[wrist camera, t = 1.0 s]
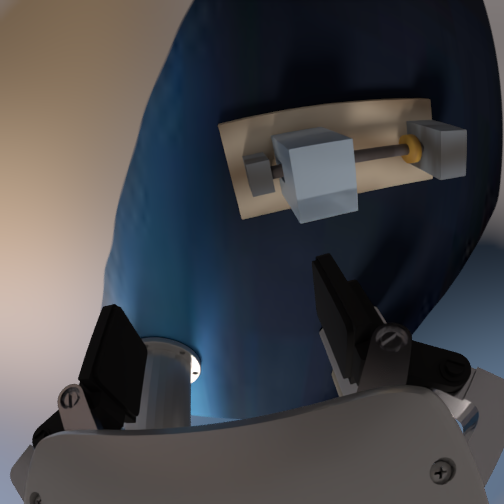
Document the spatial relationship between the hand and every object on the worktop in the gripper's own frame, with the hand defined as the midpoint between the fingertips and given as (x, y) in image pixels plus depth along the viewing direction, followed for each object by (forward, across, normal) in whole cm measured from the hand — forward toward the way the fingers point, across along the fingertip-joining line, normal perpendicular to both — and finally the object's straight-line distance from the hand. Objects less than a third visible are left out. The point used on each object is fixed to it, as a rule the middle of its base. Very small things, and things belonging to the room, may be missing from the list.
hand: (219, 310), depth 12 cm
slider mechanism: (+20, -14, 0) cm, 24 cm away
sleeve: (+18, -8, 0) cm, 20 cm away
